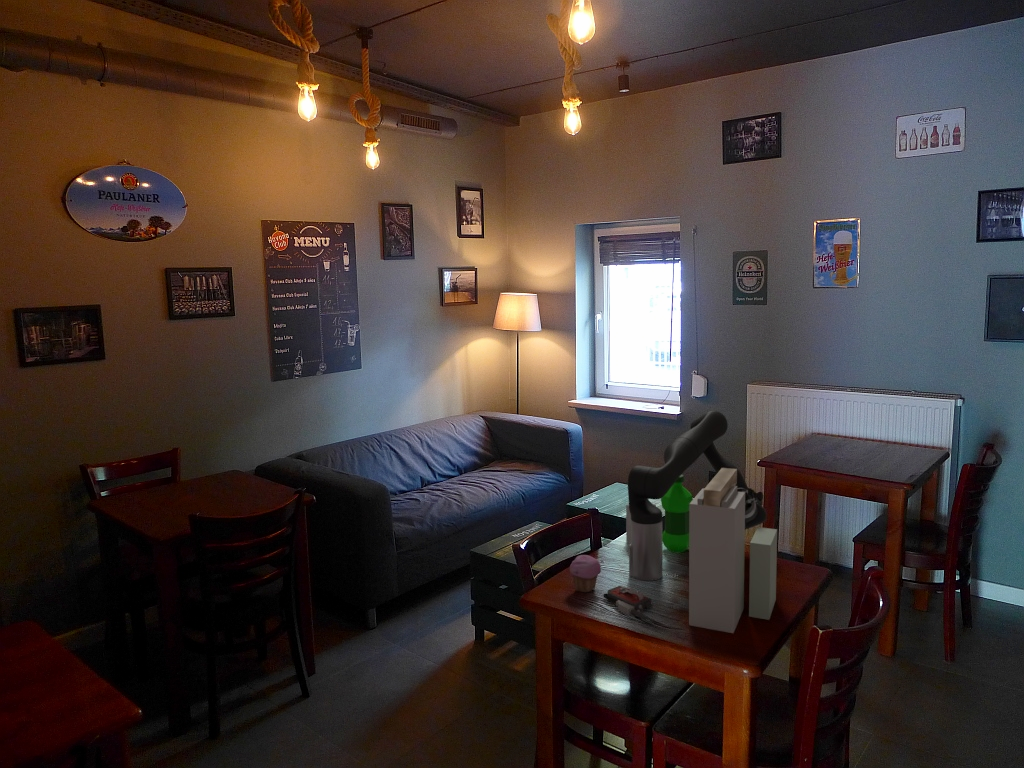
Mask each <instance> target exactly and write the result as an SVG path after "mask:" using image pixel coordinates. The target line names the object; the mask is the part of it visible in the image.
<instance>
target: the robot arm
mask: <svg viewBox="0 0 1024 768" xmlns="http://www.w3.org/2000/svg"><path fill="white" fill-rule="evenodd" d="M689 427H690V428H689V430H687V431H685V432H684V433H682V434H680V435H678V436H677V437H676V438H675V439H674V440H673V441H671V442H670V443H668V445H667V446H666V448H665V449H664V451H663V461H664V465H662V466H660V467H653V466H652V467H651V466H648V465H647V466H646V465H635V466H633V467H631V469H630V471H629V473H628V475H627V476H628V477H627V494H628V504H629V511H630V514H631V543H629V545H628V576H629V577H632V578H635V579H636V580H641V581H647V582H648V581H649V582H651V581H657V580H660V579H661V578H662V577H663V573H664V572H663V571H664V570H663V569H664V568H663V566H664V565H663V558H664V557H663V553H664V552H663V548H664V547H663V546H664V544H663V538H662V534H663V511H662V510H661V509H660V508H659V507H657V505H656V504H655V505H656V506H655V505H653V504H654V503H652V502H651V501H650V500H661V498H662V497H663V496H664V495H665V494H666V493H667V492H668V491H669V489H670V488H671V487H672V485H673V484H674V483H675V481H676V480H677V479H678V478H679V477H680V475H683V473H684V472H686V471H687V470H688V469H689V468H690V467H692V465H694V463H695V462H696V461H697V460H698V458H700V456H702V454H704V456H705V458H706V459H707V461H708V462H709V463H710V465H711V466H712V468H713V470H714V471H715V473H716V474H717V473H718V472H719V471H720V470H721V468H730V469H737V484H736V485H735V486H737V492H745V530H749V529H751V528H753V527H756V526H758V525H761V524H763V523H765V522H766V521H767V518H768V513H767V510H766V509H765V508H764V506H763V505H764V493H763V491H757V492H756V490H754V489H753V488H752V487H749V486H748V484H747V482H746V481H745V478H744V477H743V476H744V475H743V474H742V472H741V471H740V470H739V468H738V467H737V466H736V465H735V464H733V462H731V461H729V460H728V459H727V458H725V457H724V456H723V455H722V454H721V453H720V452H719V451H718V449H717V448H716V446H715V443H714V441H716V440H718V439H719V438H721V437H723V436H725V434H726V432H727V431H728V428H729V427H728V420H727V417H726V416H725V415H724V413H722V412H720V411H718V410H710V411H707V412H705V413H704V414H702V415H700V416H699V417H697V418H696V419H694V420H693V421H692V422H691V423H690V426H689Z"/></svg>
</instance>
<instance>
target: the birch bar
mask: <svg viewBox="0 0 1024 768" xmlns="http://www.w3.org/2000/svg"><path fill="white" fill-rule="evenodd" d="M736 484H737V469H730V468H721V470H720V471H719V472H718V473H716V474H715V476H714V477H712V479H711V480H710V481H709V483H708V484H706V486H705V489H704V505H705V506H715V507H721V501H722V500H723V498H724V497H725V496H726V494H727V493H728V491H729V490H730V489H731V487H732V486H735V485H736Z"/></svg>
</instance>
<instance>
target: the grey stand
mask: <svg viewBox="0 0 1024 768" xmlns="http://www.w3.org/2000/svg"><path fill="white" fill-rule="evenodd" d="M704 489H705V488H704V487H703V488H701V490H700V491H699V492H698V493H697V494H696V495H695V497H693V500H692V501H691V502H690V504H689V548H688V551H689V552H688V556H689V557H688V565H689V567H688V572H689V573H688V575H689V577H688V626H691V627H697V628H701V629H702V628H703V629H707V630H712V631H718V632H723V633H724V632H725V633H731V634H734V633H735V631H736V628H737V626H738V624H739V620H740V618H741V617H742V614H743V611H744V610H745V609H744V608H745V606H744V605H745V603H744V602H745V599H744V598H745V545H746V544H745V541H746V540H745V537H746V536H745V532H746V531H745V492H737V486H732V487H731V489H730V490H729V491H728V493H727V494H726V496H725V497H724V498H723V500H722V501H721V507H715V506H705V505H704Z"/></svg>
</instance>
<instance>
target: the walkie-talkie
mask: <svg viewBox="0 0 1024 768" xmlns="http://www.w3.org/2000/svg"><path fill="white" fill-rule="evenodd" d="M603 598H604V599H606V600H607V602H610V603H611V604H614V605H615V606H616V607H617V609H618V611H619V612H621V613H623V614H625V615H627V616H629V617H630V616H636V617H638V618H640V619H643V620H644V621H648V622H651V623H653V624H655V623H656V620H655V619H653V618H652V617H649V616H647V615H645V614H643V613H641V612H644V611H649V610H651V609H652V607H653V604H652V603H653V602H652V600H653V599H652V598H650V597H648V596H646V595H644V593H642V592H640V591H638V590H635V589H633V588H631V589H630V588H627V587H626V586H622V585H618V586H615V587H613V588H610V589H608V590H607V593H603Z"/></svg>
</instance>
